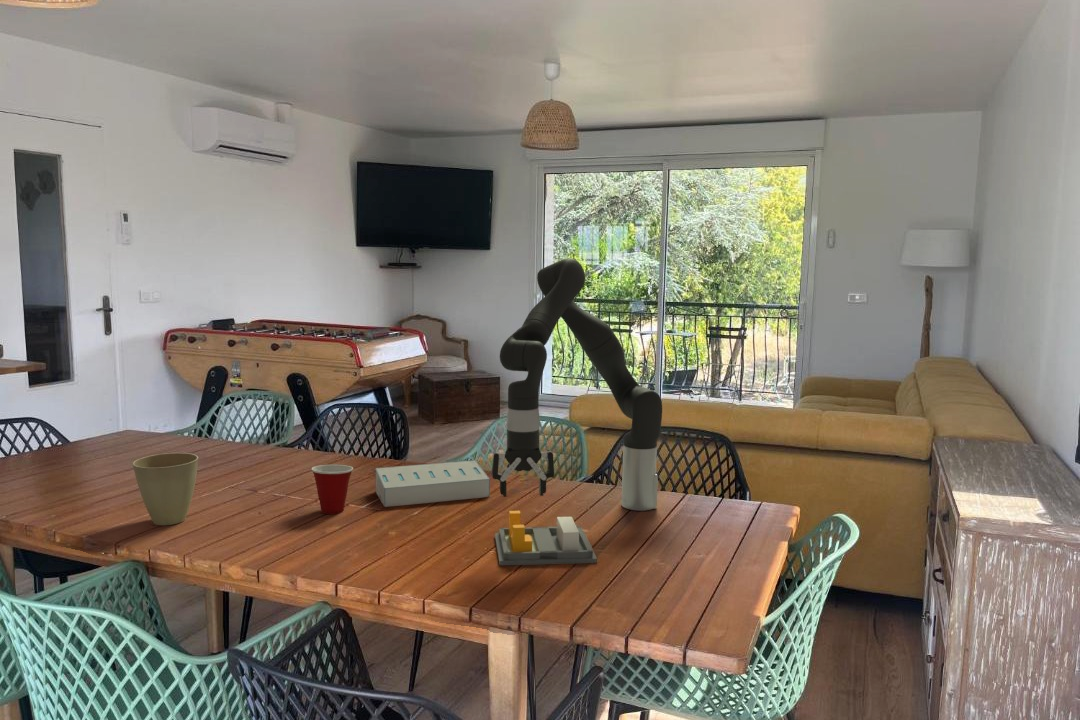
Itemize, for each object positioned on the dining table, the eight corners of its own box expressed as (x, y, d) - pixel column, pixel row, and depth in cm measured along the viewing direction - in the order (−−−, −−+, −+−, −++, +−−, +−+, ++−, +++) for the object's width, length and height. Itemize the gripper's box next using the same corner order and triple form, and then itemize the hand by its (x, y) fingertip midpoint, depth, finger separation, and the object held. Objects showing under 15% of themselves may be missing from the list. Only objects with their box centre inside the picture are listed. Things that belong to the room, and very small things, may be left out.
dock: (583, 535, 195) (584, 511, 194) (597, 562, 177) (597, 537, 176) (495, 537, 192) (495, 513, 191) (499, 565, 174) (499, 539, 174)
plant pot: (187, 507, 210) (185, 449, 208) (210, 521, 199) (207, 460, 197) (127, 520, 200) (124, 458, 198) (147, 535, 189) (144, 470, 187)
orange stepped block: (532, 554, 178) (532, 527, 177) (513, 555, 178) (513, 527, 177) (526, 536, 190) (527, 510, 189) (508, 536, 189) (509, 510, 189)
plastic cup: (361, 506, 213) (361, 463, 212) (339, 519, 203) (339, 474, 202) (326, 502, 217) (326, 460, 215) (303, 514, 206) (302, 469, 205)
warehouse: (384, 508, 214) (384, 481, 213) (375, 493, 227) (375, 468, 226) (489, 498, 225) (489, 472, 224) (475, 484, 238) (475, 460, 237)
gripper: (551, 423, 184) (551, 490, 187) (491, 424, 183) (491, 491, 185) (556, 430, 177) (555, 499, 179) (493, 431, 175) (493, 501, 177)
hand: (522, 495), depth 182 cm, fingers open, 8 cm apart
